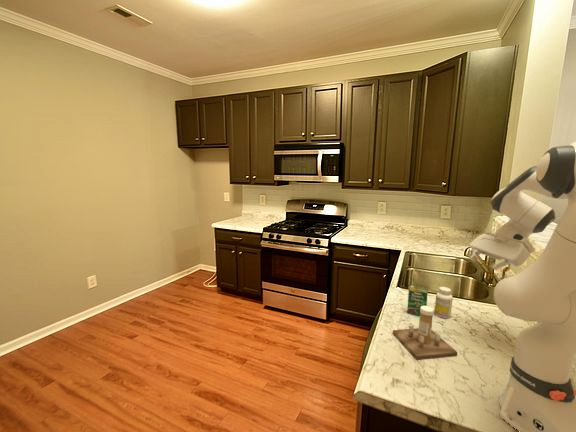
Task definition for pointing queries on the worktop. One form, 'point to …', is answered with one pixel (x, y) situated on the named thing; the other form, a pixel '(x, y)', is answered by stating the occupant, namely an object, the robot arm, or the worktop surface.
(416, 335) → the pin board
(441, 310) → the supplement bottle
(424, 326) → the sprinkles bottle
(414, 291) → the coffee box
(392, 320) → the worktop surface
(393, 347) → the worktop surface
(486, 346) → the worktop surface
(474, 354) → the worktop surface
